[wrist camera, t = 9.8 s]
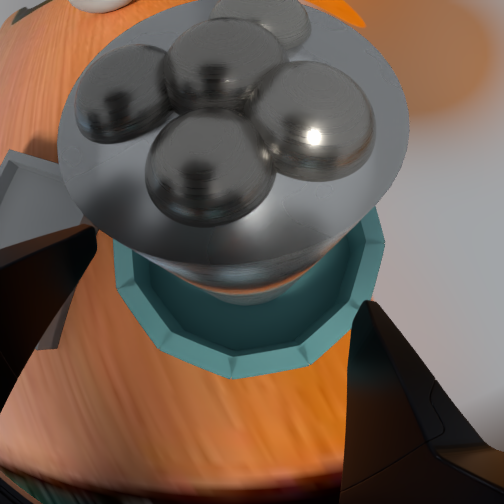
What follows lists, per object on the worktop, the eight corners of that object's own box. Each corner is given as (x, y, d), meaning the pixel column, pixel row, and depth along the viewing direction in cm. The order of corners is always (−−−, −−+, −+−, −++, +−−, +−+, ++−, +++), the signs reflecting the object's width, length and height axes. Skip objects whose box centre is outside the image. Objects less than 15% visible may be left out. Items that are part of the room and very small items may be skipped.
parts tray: (57, 348, 16) (37, 350, 14) (-25, 282, 17) (-42, 278, 15) (116, 191, 18) (102, 177, 16) (23, 160, 19) (9, 149, 17)
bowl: (316, 393, 15) (330, 410, 12) (108, 310, 16) (78, 307, 13) (378, 189, 18) (400, 164, 14) (191, 128, 19) (181, 95, 16)
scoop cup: (242, 331, 15) (175, 391, 2) (164, 241, 16) (0, 79, 3) (330, 249, 16) (486, 79, 3) (250, 169, 17) (242, -54, 4)
